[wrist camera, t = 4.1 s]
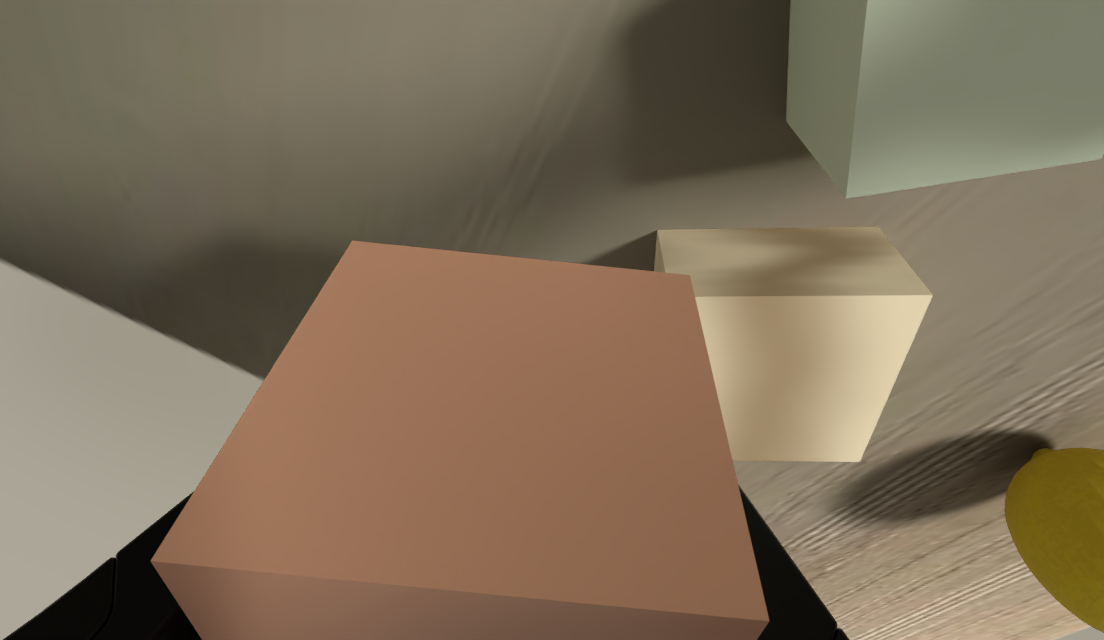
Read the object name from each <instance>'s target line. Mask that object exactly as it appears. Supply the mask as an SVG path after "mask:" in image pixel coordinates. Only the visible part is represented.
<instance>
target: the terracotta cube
mask: <svg viewBox="0 0 1104 640" xmlns="http://www.w3.org/2000/svg"><path fill="white" fill-rule="evenodd" d="M151 563H152V564H153V566H154V567H155V569H156V570H157V572H158V573H159V575H160V577H161V578H162V580H163V581H164V583H165V584H166V586H167V587H168V589H169V590H170V592H171V593H172V595H173V596H174V598H175V599H176V601H177V602H178V604H179V605H180V607H181V608H182V610H183V611H184V613H185V615H186V616H187V618H188V619H189V621H190V622H191V624H192V625H193V627H194V628H195V630H196V631H197V633H198V634H199V636H200V637H201V639H202V640H757V639H758V637H759V636H760V634H761V633H762V631H763V630H764V629H765V627H766V626H767V624H768V623H769V617H768V613H767V608H766V604H765V599H764V595H763V591H762V586H761V582H760V578H759V573H758V569H757V565H756V560H755V556H754V552H753V547H752V543H751V539H750V534H749V530H748V525H747V521H746V517H745V512H744V508H743V504H742V499H741V495H740V491H739V486H738V482H737V478H736V473H735V469H734V465H733V460H732V456H731V452H730V447H729V443H728V438H727V434H726V430H725V425H724V421H723V417H722V412H721V408H720V404H719V399H718V395H717V391H716V386H715V382H714V378H713V373H712V369H711V364H710V360H709V356H708V351H707V347H706V343H705V338H704V334H703V330H702V325H701V321H700V317H699V312H698V308H697V304H696V299H695V295H694V291H693V286H692V282H691V277H690V275H685V274H675V273H665V272H655V271H645V270H636V269H626V268H616V267H606V266H596V265H587V264H577V263H567V262H557V261H547V260H538V259H528V258H518V257H508V256H498V255H489V254H479V253H469V252H459V251H449V250H440V249H430V248H420V247H410V246H401V245H391V244H381V243H371V242H361V241H352V242H351V243H350V245H349V247H348V248H347V250H346V251H345V253H344V255H343V256H342V258H341V259H340V261H339V262H338V264H337V266H336V267H335V269H334V270H333V272H332V274H331V275H330V277H329V278H328V280H327V282H326V283H325V285H324V286H323V288H322V289H321V291H320V293H319V294H318V296H317V297H316V299H315V301H314V302H313V304H312V305H311V307H310V308H309V310H308V312H307V313H306V315H305V316H304V318H303V320H302V321H301V323H300V324H299V326H298V328H297V329H296V331H295V332H294V334H293V335H292V337H291V339H290V340H289V342H288V343H287V345H286V347H285V348H284V350H283V351H282V353H281V355H280V356H279V358H278V359H277V361H276V362H275V364H274V366H273V367H272V369H271V370H270V372H269V374H268V375H267V377H266V378H265V380H264V382H263V383H262V385H261V387H260V388H259V389H258V391H257V393H256V394H255V396H254V397H253V399H252V401H251V402H250V404H249V405H248V407H247V408H246V410H245V412H244V413H243V415H242V416H241V418H240V420H239V421H238V423H237V424H236V426H235V428H234V429H233V431H232V433H231V434H230V436H229V437H228V439H227V440H226V442H225V444H224V445H223V447H222V448H221V450H220V451H219V453H218V455H217V456H216V458H215V459H214V461H213V463H212V464H211V466H210V467H209V469H208V470H207V472H206V474H205V476H204V477H203V478H202V480H201V482H200V483H199V485H198V486H197V488H196V490H195V491H194V493H193V494H192V496H191V497H190V499H189V501H188V502H187V504H186V505H185V507H184V508H183V510H182V512H181V513H180V515H179V516H178V518H177V520H176V521H175V523H174V524H173V526H172V528H171V529H170V531H169V532H168V534H167V535H166V537H165V539H164V540H163V542H162V543H161V545H160V547H159V548H158V550H157V551H156V553H155V555H154V556H153V558H152V559H151Z"/></svg>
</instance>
